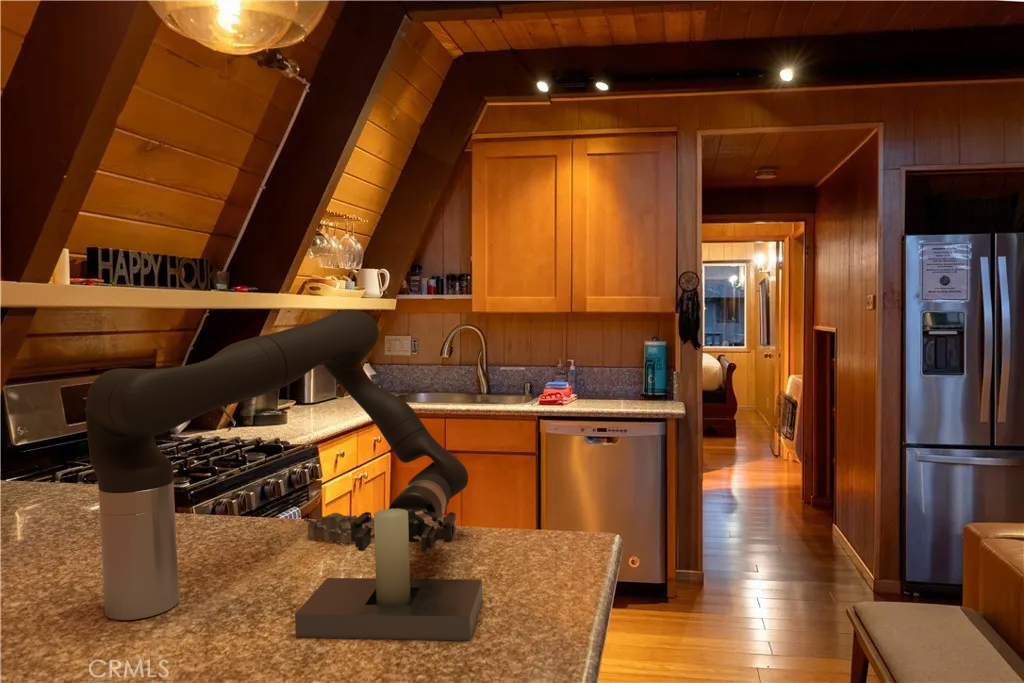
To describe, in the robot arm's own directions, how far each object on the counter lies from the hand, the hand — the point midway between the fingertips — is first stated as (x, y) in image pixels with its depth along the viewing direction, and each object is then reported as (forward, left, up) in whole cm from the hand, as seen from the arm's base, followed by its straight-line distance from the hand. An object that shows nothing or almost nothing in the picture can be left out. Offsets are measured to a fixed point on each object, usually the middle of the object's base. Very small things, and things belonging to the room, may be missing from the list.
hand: (392, 544), depth 96 cm
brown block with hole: (0, 0, -10) cm, 10 cm away
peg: (0, 0, -10) cm, 10 cm away
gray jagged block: (-36, +12, -10) cm, 40 cm away
